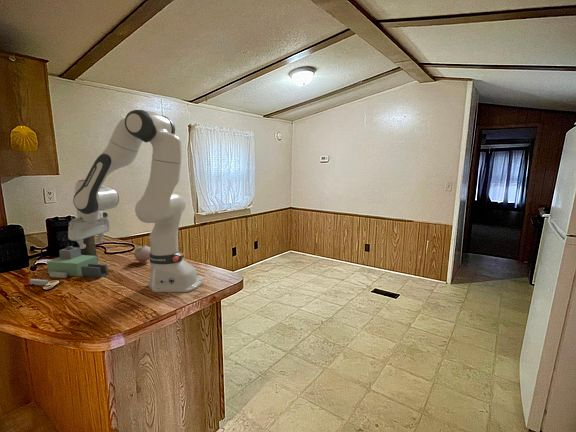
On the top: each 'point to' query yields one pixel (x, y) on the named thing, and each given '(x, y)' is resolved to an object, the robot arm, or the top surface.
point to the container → (89, 247)
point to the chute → (94, 271)
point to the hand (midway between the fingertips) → (91, 245)
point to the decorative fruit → (142, 253)
